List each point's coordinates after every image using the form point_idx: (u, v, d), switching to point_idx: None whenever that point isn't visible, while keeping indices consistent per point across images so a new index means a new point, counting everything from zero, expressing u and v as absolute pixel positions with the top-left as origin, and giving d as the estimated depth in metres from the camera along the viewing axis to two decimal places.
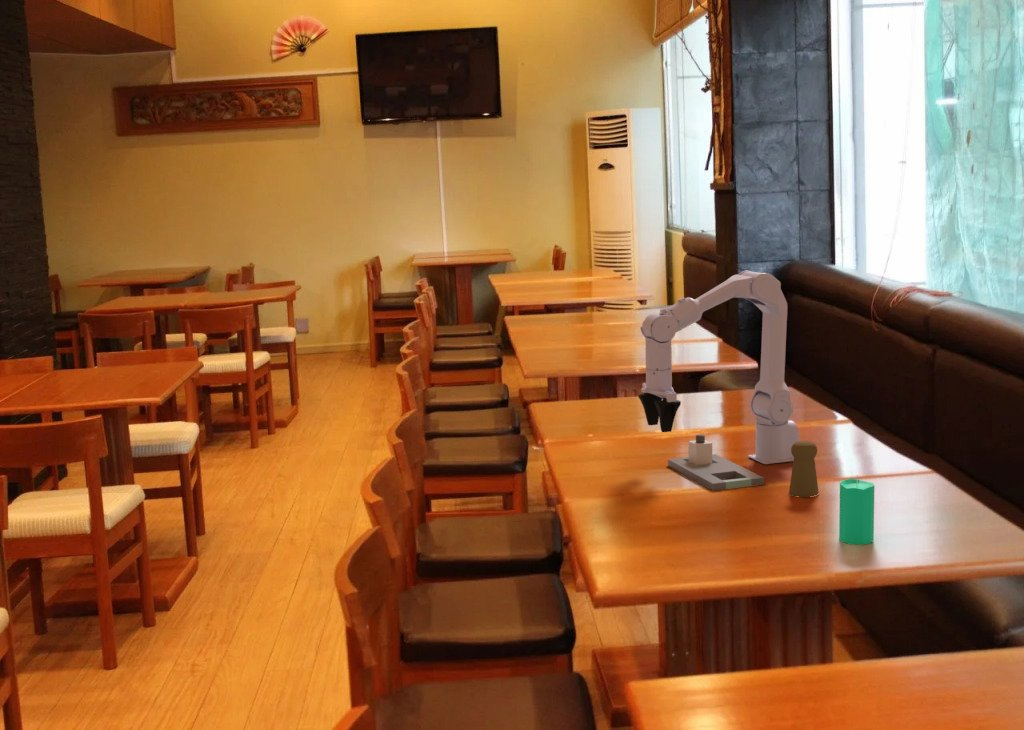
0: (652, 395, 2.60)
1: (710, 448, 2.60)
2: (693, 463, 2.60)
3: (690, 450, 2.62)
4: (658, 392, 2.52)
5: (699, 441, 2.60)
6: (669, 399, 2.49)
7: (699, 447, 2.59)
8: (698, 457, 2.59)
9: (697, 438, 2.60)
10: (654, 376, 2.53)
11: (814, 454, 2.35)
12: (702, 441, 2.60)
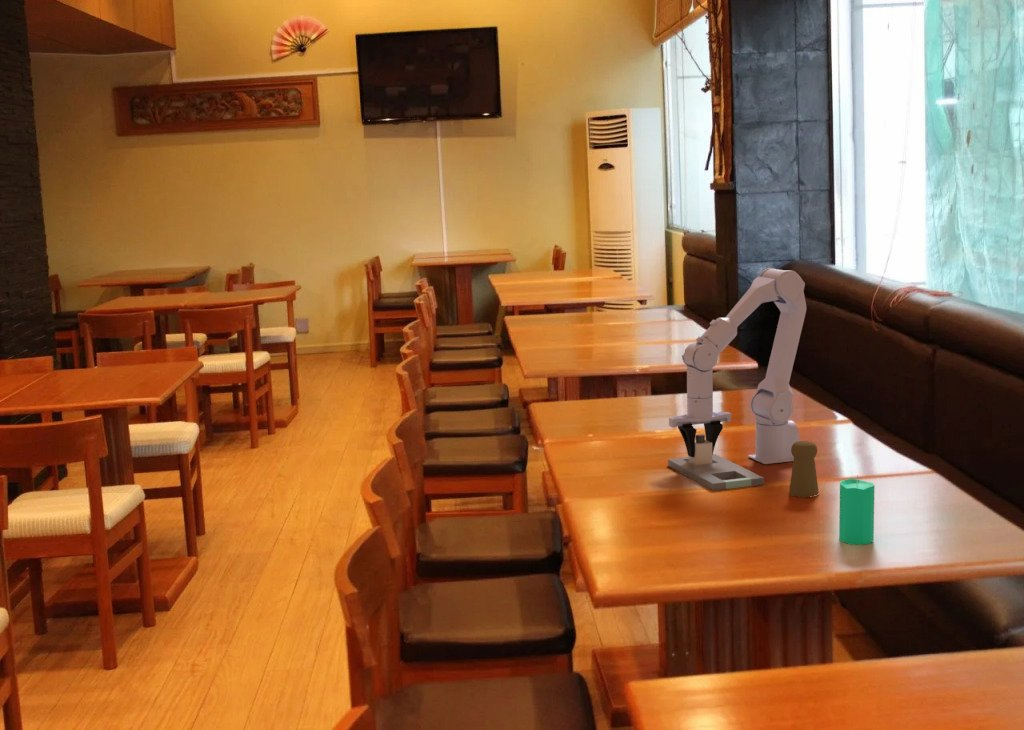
0: (709, 424, 2.61)
1: (710, 448, 2.60)
2: (693, 463, 2.60)
3: None
4: None
5: (699, 441, 2.60)
6: (669, 423, 2.59)
7: (699, 446, 2.59)
8: (698, 457, 2.59)
9: (697, 438, 2.60)
10: None
11: (814, 454, 2.35)
12: (702, 441, 2.60)
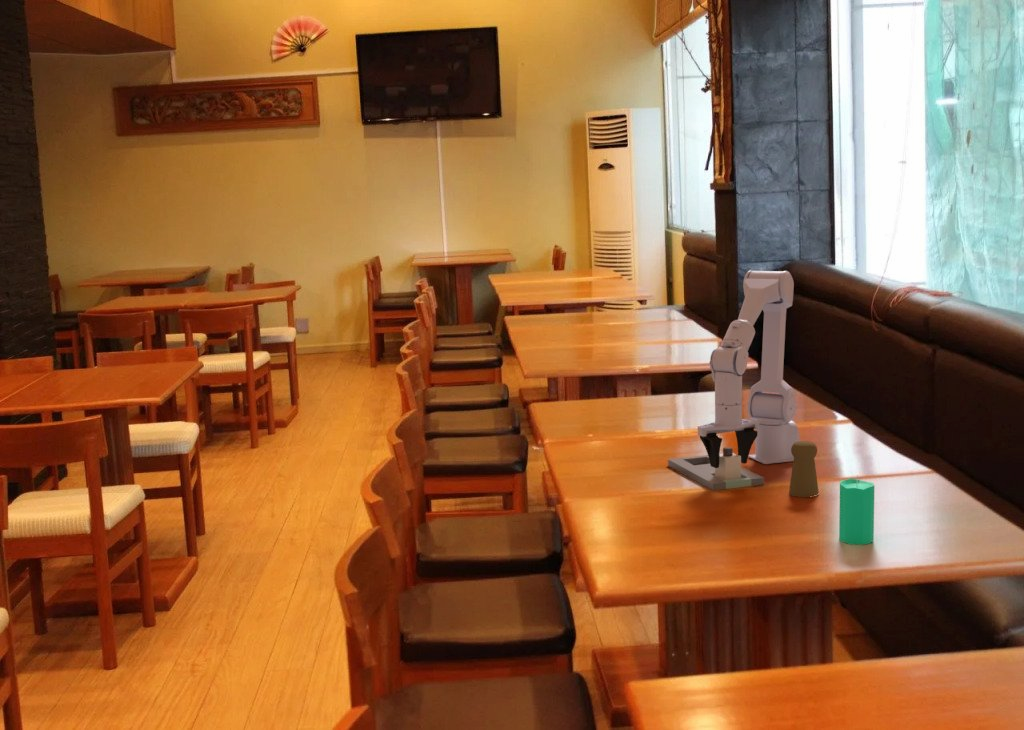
0: (742, 431, 2.48)
1: (739, 461, 2.47)
2: (721, 478, 2.47)
3: None
4: None
5: (727, 454, 2.47)
6: (698, 432, 2.44)
7: (729, 460, 2.46)
8: (727, 471, 2.46)
9: (725, 451, 2.47)
10: None
11: (814, 454, 2.35)
12: (730, 454, 2.47)
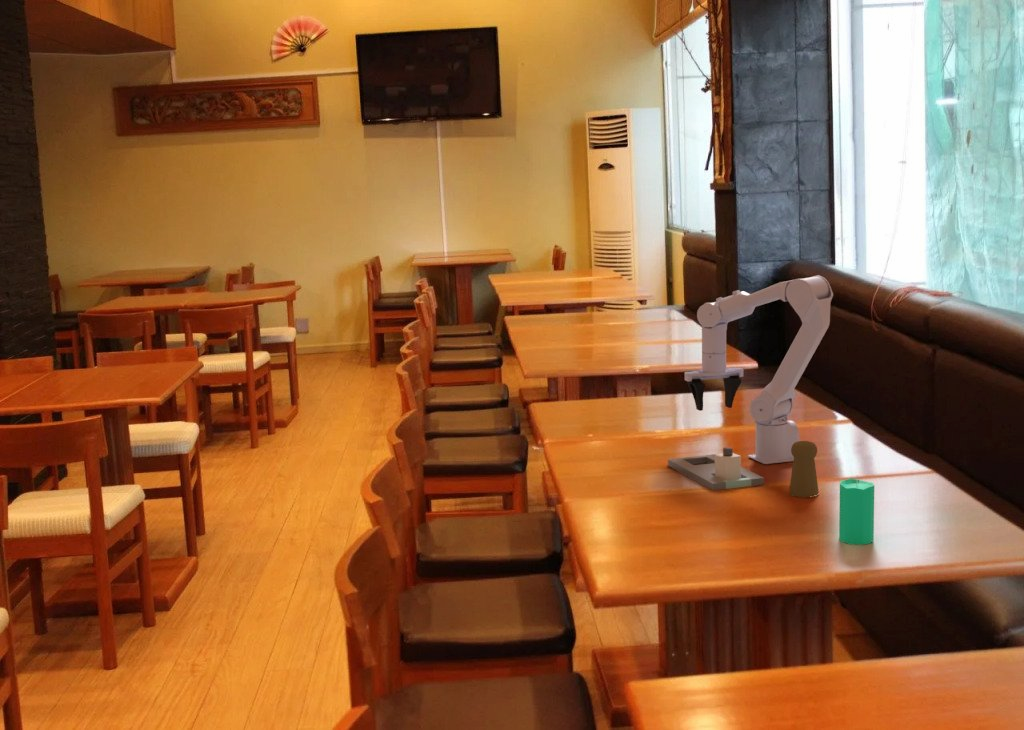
0: (728, 379, 2.75)
1: (739, 461, 2.47)
2: (721, 478, 2.47)
3: (717, 464, 2.48)
4: None
5: (727, 454, 2.47)
6: None
7: (729, 460, 2.46)
8: (727, 471, 2.46)
9: (725, 451, 2.47)
10: None
11: (814, 454, 2.35)
12: (730, 454, 2.47)
